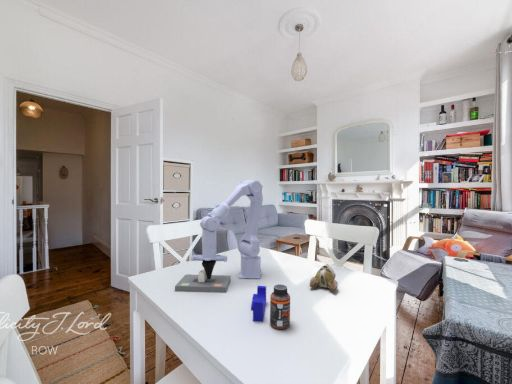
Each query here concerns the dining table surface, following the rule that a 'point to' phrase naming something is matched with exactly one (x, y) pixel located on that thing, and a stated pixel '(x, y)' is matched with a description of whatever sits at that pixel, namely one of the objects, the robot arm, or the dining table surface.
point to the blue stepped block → (259, 304)
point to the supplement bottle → (280, 307)
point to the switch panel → (203, 284)
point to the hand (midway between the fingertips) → (209, 278)
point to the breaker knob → (202, 276)
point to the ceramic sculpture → (324, 278)
